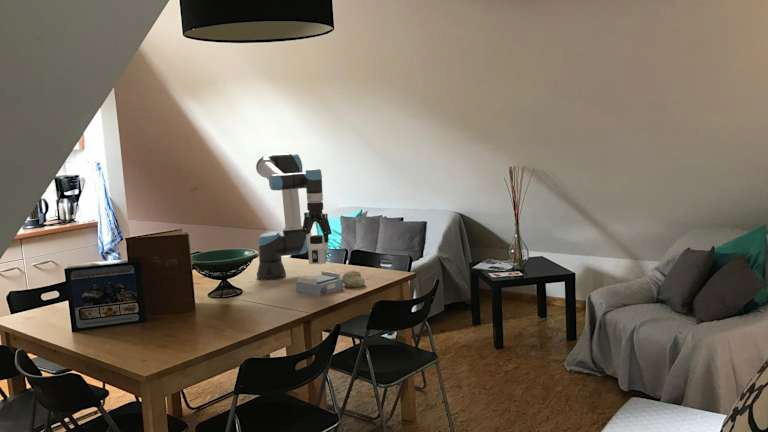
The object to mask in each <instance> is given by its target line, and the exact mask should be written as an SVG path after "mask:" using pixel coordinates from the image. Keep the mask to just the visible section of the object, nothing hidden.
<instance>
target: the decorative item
mask: <svg viewBox="0 0 768 432" xmlns="http://www.w3.org/2000/svg"><path fill="white" fill-rule="evenodd" d="M341 279H343V285H344V286H345V287H347V288H351V289H352V288H361V287H362V286H363V287H364V286H365V283H366V282H365V278H364V277H362V273H361V272H360V271H357V270H350V271H346V273H344V274H343V275H342V277H341Z"/></svg>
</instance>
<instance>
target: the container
mask: <svg viewBox="0 0 768 432" xmlns="http://www.w3.org/2000/svg"><path fill="white" fill-rule="evenodd" d="M322 235H323V234H314V235H312V236H311V237H310V245H311V246H310V247H309V248H308V250H307V252H308V253H307V254H308V264H309V265H324V264H327V261H328V254H327V249H326V250H323V241H322Z"/></svg>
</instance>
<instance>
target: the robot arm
mask: <svg viewBox="0 0 768 432" xmlns="http://www.w3.org/2000/svg"><path fill="white" fill-rule="evenodd" d="M255 169H256V172H257V173H258V174H259V175H260V177H262V178H265V179H267V180H268V185H269V189H270V190H271V191H281V194H282V206H283V215H284V216H283V217H284V225H285V226H284V228H283V229H282V233H281V232H280V231H279V230H278V231H269V232H265V233H262V234H260V235H259V236H258V238H257V246H258V261H259V264H258V267H257V272H256V278H257V279H258V280H261V281H269V280H271V281H272V280H278V279H283V278H285V277H286V276H287V273H286V272H287V271H286V269H285V266H284V264H283V260H282V257H285V256H295V255H302V254H305V253H307V252H308V248H309V247H310V246H311V245H310V237H311V236H313V235H312V232H311V231H312V228H313V226H314V224H315V223H317V224H318V226H319V228H320V231H321V232H322V234H321V235H322V241H323V250H326V251H327V250H329V236H330V235H332V230H331V229H332V228H331V226H330V221H329V219H328V217H329V216H328V213H323V210H324V202H323V201H324V194H323V174H322V169H320V168H308V169H306V170H305V171H303V162H302V160H301V157H300V155H299V154H298V153H296V152H284V153H268V154H265V155H263V156H262V157H261V158H259V159H258V161H257V162H256V165H255ZM299 189H305V190H306V191H305V193H306V202H307V203H306V207H307V208H306V209H307V210H306V211H307V212H304V213H303V215H304V217H303V223H302V216H301V205H300V198H299V197H300V196H299Z"/></svg>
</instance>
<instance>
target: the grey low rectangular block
mask: <svg viewBox="0 0 768 432" xmlns="http://www.w3.org/2000/svg"><path fill="white" fill-rule="evenodd" d="M320 271H321V272H320V274H317V275H313V276H308V277H305V276H297V280H296V281H295V282H294V283H295V292H298V293H302V294H307V295H312V296H317V297H320V296H323V295H326V294H331V293H334V291H335V292H337V291H341V290H344V283H343V279H342V277H341V275H340V272H339V273H338V272H334V271H333V272H332V271H329V270H320Z"/></svg>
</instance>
